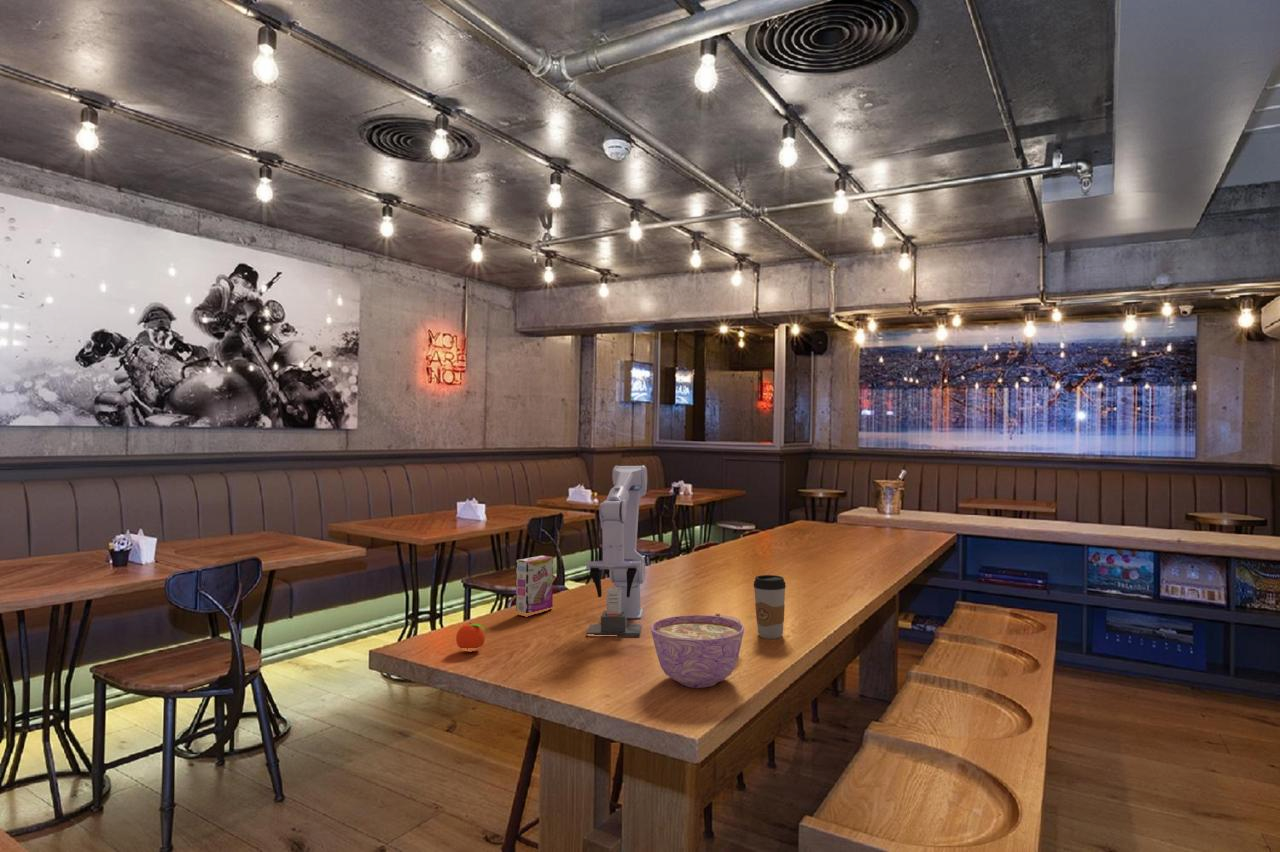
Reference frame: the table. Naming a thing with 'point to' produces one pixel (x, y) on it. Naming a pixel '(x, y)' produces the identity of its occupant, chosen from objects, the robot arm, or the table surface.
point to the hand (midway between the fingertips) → (614, 596)
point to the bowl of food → (697, 648)
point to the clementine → (470, 636)
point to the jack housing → (615, 626)
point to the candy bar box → (534, 584)
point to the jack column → (614, 601)
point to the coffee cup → (769, 605)
